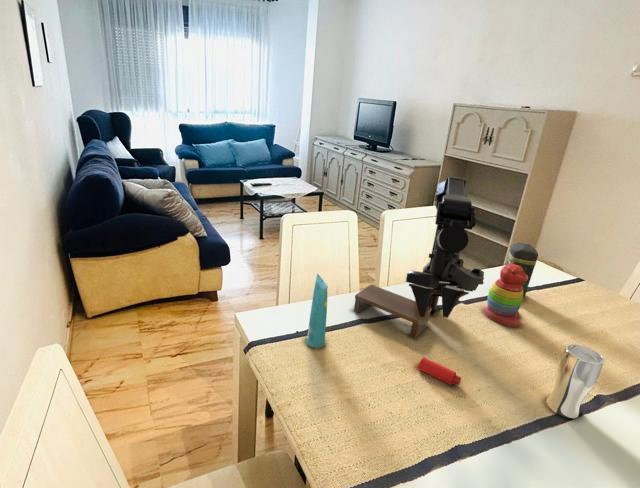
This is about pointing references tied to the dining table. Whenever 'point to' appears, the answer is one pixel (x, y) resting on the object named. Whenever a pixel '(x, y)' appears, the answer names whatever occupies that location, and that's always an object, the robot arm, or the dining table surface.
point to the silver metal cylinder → (574, 379)
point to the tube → (318, 314)
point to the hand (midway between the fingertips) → (434, 317)
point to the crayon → (439, 371)
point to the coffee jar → (523, 260)
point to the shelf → (392, 306)
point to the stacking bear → (506, 296)
